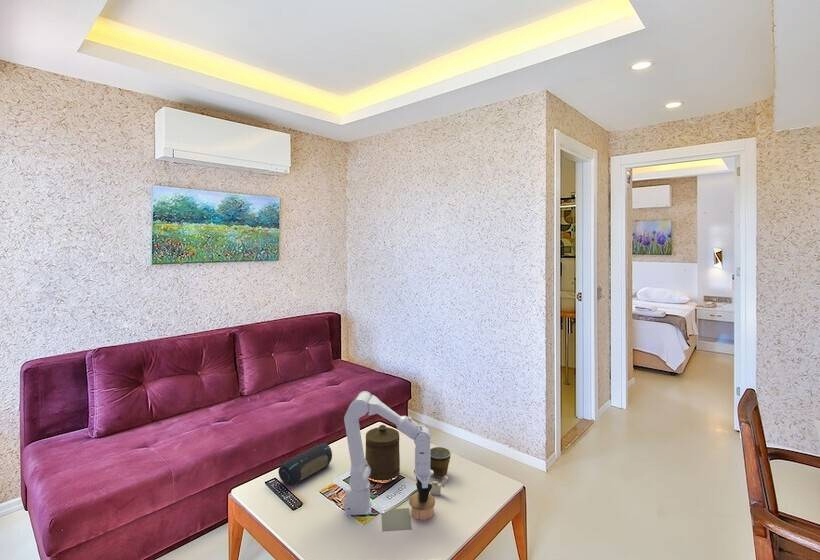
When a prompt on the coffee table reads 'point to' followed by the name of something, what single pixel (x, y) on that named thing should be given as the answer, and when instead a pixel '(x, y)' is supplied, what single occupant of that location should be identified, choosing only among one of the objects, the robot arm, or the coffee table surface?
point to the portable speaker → (305, 464)
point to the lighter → (438, 486)
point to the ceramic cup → (439, 461)
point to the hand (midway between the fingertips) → (422, 495)
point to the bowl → (422, 513)
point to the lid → (417, 504)
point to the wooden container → (383, 453)
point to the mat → (396, 520)
